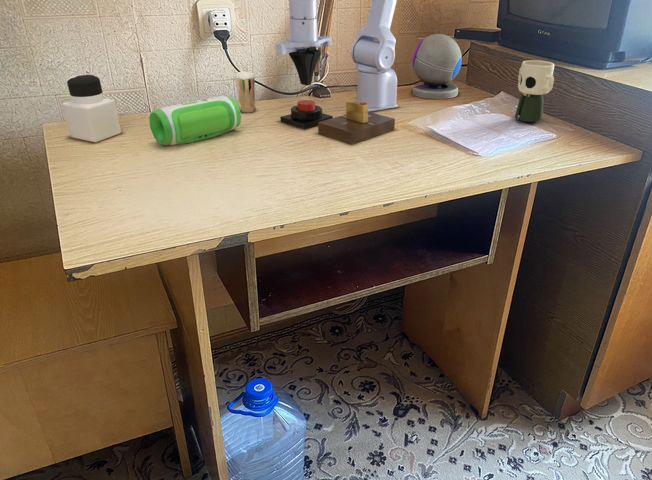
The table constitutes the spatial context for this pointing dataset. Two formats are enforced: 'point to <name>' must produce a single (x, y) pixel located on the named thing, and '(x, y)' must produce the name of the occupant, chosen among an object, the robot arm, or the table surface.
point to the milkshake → (246, 90)
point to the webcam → (437, 67)
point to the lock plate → (355, 128)
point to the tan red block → (357, 111)
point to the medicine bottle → (90, 110)
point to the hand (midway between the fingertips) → (305, 84)
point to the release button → (306, 105)
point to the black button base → (305, 117)
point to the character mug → (533, 88)
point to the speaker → (194, 120)
